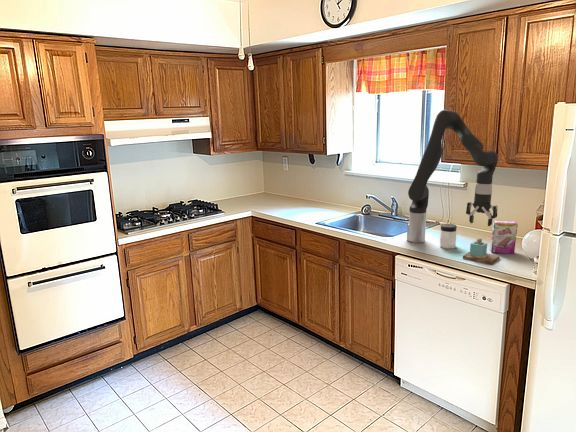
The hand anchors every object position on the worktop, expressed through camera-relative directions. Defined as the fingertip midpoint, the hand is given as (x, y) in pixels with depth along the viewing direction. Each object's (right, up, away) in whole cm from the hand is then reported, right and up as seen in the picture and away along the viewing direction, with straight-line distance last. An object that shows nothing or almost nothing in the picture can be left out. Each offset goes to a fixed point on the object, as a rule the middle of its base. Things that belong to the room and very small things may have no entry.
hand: (480, 224), depth 217 cm
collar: (+1, -15, +4) cm, 16 cm away
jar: (-8, -13, +24) cm, 28 cm away
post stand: (+2, -17, +3) cm, 18 cm away
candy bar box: (+17, -15, +12) cm, 26 cm away
